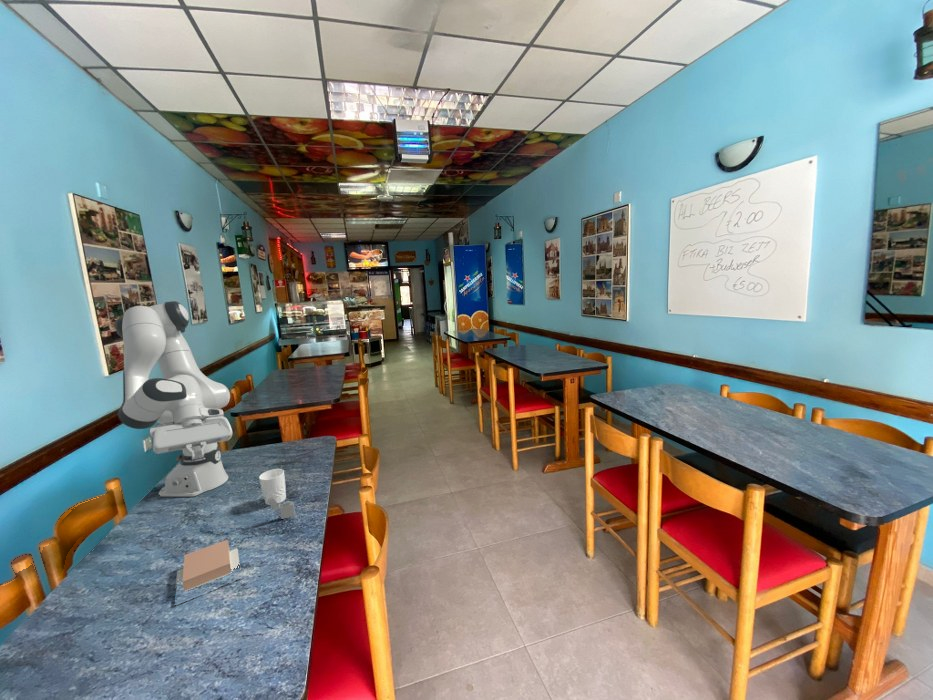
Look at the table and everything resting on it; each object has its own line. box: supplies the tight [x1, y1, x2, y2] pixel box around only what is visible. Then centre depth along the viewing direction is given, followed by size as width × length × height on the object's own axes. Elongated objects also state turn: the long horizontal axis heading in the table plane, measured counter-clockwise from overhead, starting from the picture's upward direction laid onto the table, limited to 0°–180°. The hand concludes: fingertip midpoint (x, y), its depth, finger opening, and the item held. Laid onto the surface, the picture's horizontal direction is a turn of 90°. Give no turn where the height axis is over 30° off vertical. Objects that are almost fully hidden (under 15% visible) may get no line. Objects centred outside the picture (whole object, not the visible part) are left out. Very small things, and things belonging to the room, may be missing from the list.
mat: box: [175, 548, 241, 587], centre depth 100 cm, size 14×14×1 cm
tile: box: [182, 539, 232, 592], centre depth 102 cm, size 3×10×12 cm
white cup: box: [258, 468, 287, 506], centre depth 134 cm, size 8×8×10 cm
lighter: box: [268, 497, 296, 520], centre depth 123 cm, size 7×2×8 cm, turn 116°
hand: (198, 457), depth 116 cm, fingers closed
